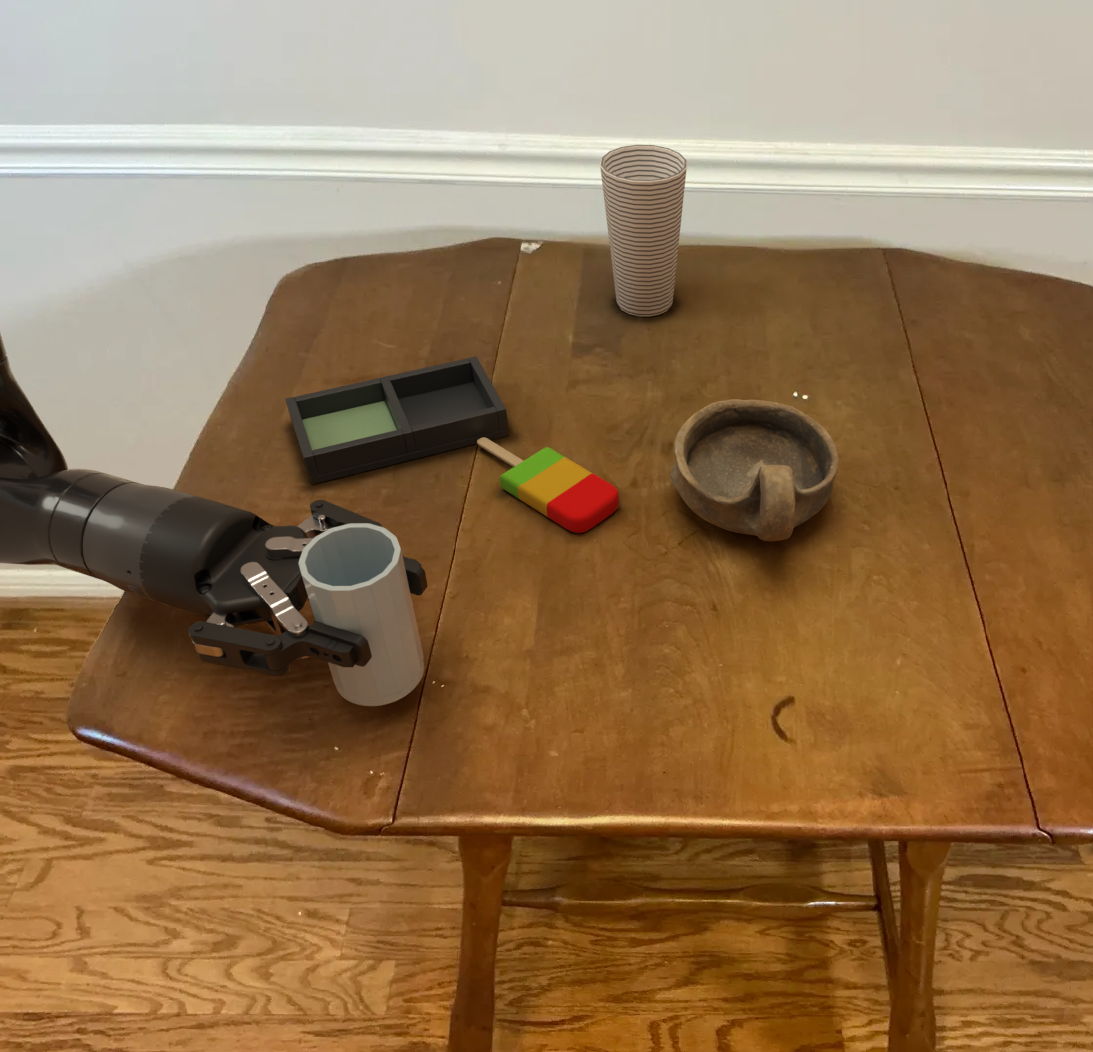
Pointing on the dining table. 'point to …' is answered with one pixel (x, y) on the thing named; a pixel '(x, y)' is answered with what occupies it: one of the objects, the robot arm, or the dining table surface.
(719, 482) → the bowl
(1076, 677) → the dining table surface
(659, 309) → the cup
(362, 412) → the tray
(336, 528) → the tumbler
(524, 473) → the popsicle
